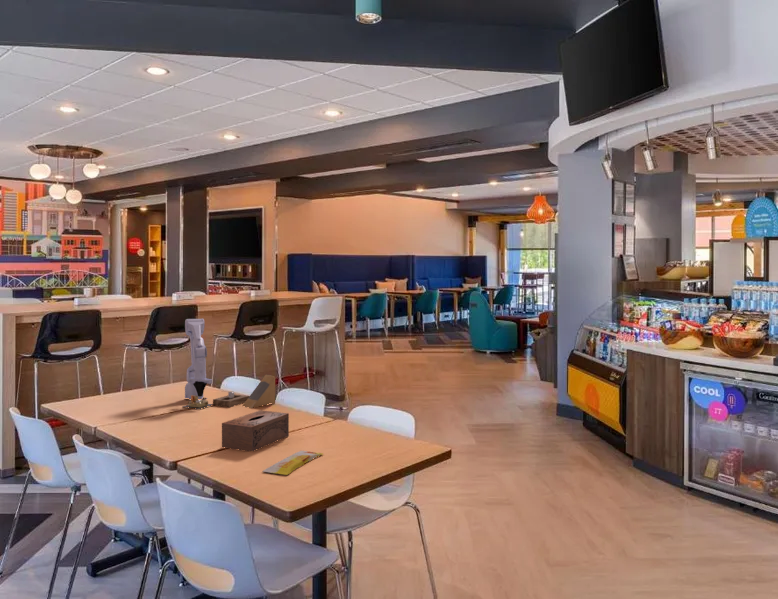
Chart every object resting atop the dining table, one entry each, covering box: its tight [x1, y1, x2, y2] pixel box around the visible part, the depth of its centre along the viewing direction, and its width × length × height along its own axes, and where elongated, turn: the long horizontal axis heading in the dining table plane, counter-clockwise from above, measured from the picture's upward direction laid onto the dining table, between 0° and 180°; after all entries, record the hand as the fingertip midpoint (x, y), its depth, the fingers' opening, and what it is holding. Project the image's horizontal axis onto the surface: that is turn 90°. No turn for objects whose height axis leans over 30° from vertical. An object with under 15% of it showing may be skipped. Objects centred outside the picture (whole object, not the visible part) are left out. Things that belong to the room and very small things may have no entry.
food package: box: [262, 450, 324, 476], centre depth 226 cm, size 27×2×10 cm
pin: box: [227, 391, 235, 400], centre depth 328 cm, size 3×3×6 cm
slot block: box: [212, 393, 250, 408], centre depth 328 cm, size 11×16×3 cm
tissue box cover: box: [221, 409, 290, 452], centre depth 254 cm, size 26×14×10 cm, turn 156°
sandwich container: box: [241, 374, 276, 409], centre depth 324 cm, size 9×15×15 cm, turn 137°
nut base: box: [182, 395, 215, 410], centre depth 319 cm, size 12×11×5 cm
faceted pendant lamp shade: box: [187, 395, 209, 407], centre depth 320 cm, size 9×10×4 cm
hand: (200, 396), depth 323 cm, fingers closed
